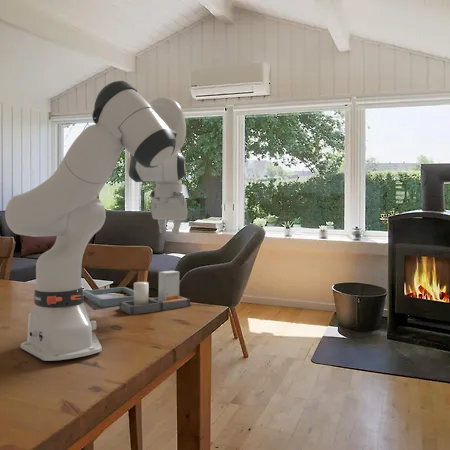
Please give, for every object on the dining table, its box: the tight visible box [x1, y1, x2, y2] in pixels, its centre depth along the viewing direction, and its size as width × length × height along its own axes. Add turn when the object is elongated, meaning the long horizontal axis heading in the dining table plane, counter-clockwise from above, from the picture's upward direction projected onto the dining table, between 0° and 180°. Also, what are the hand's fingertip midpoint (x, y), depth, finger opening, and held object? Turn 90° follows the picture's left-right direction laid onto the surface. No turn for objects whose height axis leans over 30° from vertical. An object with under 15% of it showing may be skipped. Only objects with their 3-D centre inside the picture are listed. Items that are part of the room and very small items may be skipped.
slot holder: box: [118, 295, 191, 316], centre depth 154 cm, size 9×22×3 cm, turn 124°
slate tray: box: [83, 286, 134, 309], centre depth 165 cm, size 20×16×3 cm
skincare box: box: [157, 270, 180, 302], centre depth 156 cm, size 6×4×12 cm
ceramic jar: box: [133, 281, 150, 306], centre depth 151 cm, size 5×5×9 cm
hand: (169, 233), depth 156 cm, fingers open, 8 cm apart
